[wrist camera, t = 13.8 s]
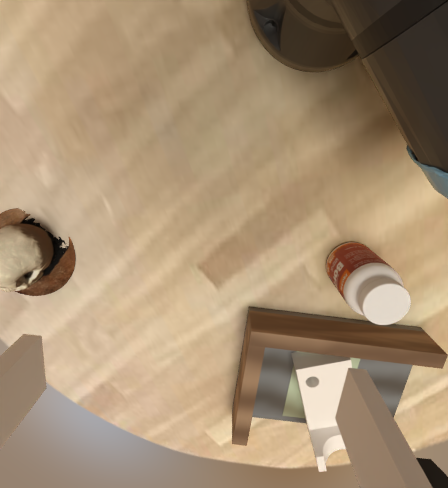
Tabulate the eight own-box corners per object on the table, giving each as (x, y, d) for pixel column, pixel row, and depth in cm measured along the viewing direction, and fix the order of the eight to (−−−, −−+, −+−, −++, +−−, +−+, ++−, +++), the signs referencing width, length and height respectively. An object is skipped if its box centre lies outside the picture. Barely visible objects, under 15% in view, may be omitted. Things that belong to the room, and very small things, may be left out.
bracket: (353, 415, 49) (374, 463, 42) (306, 423, 50) (319, 471, 42) (342, 343, 45) (362, 382, 38) (291, 352, 46) (302, 393, 38)
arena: (249, 306, 45) (251, 331, 39) (420, 327, 45) (447, 354, 39) (232, 409, 50) (232, 443, 45) (385, 427, 51) (404, 463, 45)
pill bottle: (320, 247, 42) (350, 284, 31) (369, 235, 41) (415, 268, 31) (329, 289, 44) (360, 338, 33) (375, 278, 43) (422, 324, 33)
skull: (49, 317, 45) (-41, 318, 37) (31, 264, 50) (-51, 254, 42) (95, 257, 42) (7, 243, 33) (71, 206, 47) (-10, 183, 38)
